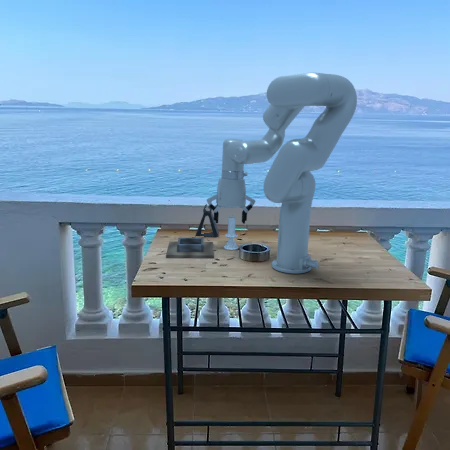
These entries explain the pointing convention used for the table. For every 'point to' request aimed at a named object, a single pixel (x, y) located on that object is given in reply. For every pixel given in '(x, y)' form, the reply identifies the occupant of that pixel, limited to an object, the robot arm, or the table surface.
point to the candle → (231, 234)
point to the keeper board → (190, 248)
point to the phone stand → (212, 222)
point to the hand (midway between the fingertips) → (230, 222)
